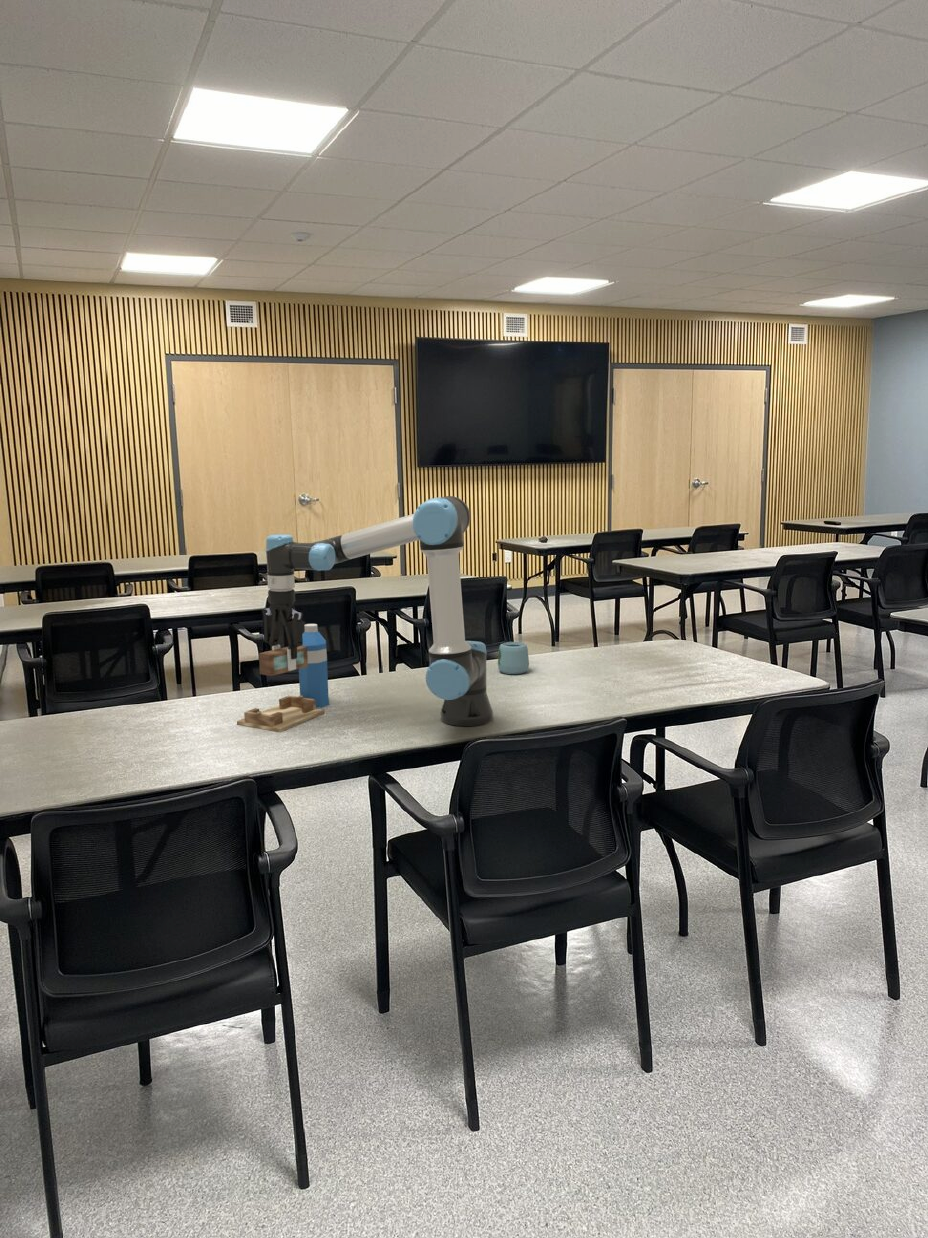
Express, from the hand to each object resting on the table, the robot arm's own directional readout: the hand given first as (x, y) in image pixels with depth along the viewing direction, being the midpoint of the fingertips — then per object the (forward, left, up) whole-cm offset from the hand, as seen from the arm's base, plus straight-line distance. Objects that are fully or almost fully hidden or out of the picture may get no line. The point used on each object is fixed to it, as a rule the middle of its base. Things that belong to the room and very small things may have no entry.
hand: (284, 668), depth 260 cm
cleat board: (+2, 0, -15) cm, 16 cm away
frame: (0, 0, -1) cm, 1 cm away
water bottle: (+3, -17, -16) cm, 23 cm away
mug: (-34, -82, -16) cm, 90 cm away
